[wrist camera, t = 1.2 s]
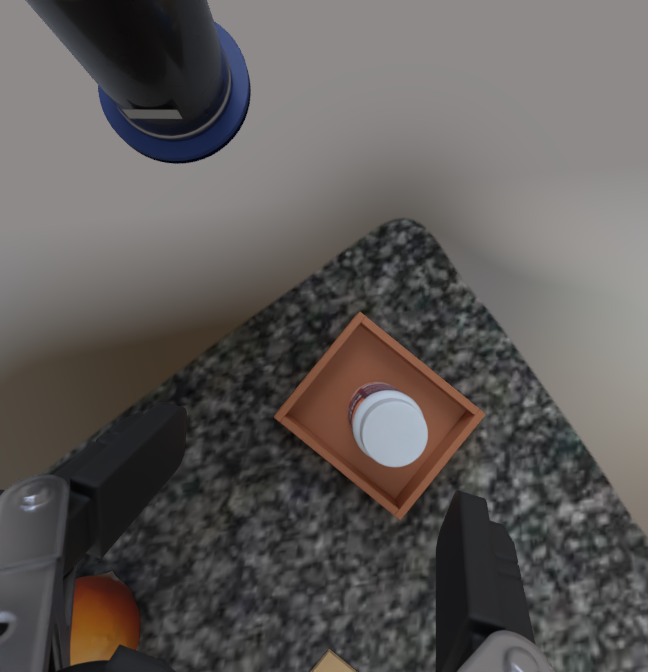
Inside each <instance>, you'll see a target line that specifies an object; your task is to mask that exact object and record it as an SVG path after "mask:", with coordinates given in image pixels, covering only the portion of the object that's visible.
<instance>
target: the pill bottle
mask: <svg viewBox="0 0 648 672" xmlns="http://www.w3.org/2000/svg"><path fill="white" fill-rule="evenodd" d="M347 414H348V420H349V423H350V427H351V430H352V432H353V436H354V439H355V441H356V443H357V445H358V446H359V448H360V449H361V450H362V451H363V452H364V453H365V454H366V455H367V456H369V457H371V458H372V459H374V460H375V461H376V462H378V463H379V464H382V465H384V466H388V467H402V466H406V465H408V464H410V463H412V462H414V461H415V460H416V459H417V458H418V457H419V456H420V455H421V454H422V452H423V451H424V449H425V447H426V444H427V439H428V429H427V425H426V422H425V420H424V417H423V414H422V412H421V410H420V408H419V406H418V405H417V404H416V402H415V401H414V400H413V399H412V398H410V397H409V396H408V395H406V394H404V393H403V392H401V391H399V390H398V389H397V388H395V387H393V386H391V385H389V384H387V383H383V382H372V383H368V384H365V385H363V386H361V387H360V388H359V389H357V390H356V391H355V392H354V394H353V395H352V396H351V398H350V401H349V403H348V409H347Z"/></svg>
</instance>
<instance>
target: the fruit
mask: <svg viewBox="0 0 648 672" xmlns="http://www.w3.org/2000/svg"><path fill="white" fill-rule="evenodd" d="M139 638H140V614H139V610H138V607H137V604H136V602H135V599H134V596H133V594H132V591H131V589H130V588H129V587H128V586H127V585H126V584H125V583H123V582H122V581H121V580H120V579H118V578H117V577H116V576H115V574H114V572H113V569H112V570H111V571H110V572H108V573H104V574H99V575H93V576H84V577H80V578H77V579H76V581H75V593H74V605H73V617H72V629H71V644H70V661H71V666H72V665H75V664H79V663H84V662H89V661H99V660H110V658H111V657H112V655H113V654H114V652H115V651H116V649H117V648H118V646H119V644H121V645H123V646H126V647H128V648H131V649H133V650H136V649H137V646H138V643H139Z"/></svg>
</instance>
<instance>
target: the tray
mask: <svg viewBox="0 0 648 672" xmlns="http://www.w3.org/2000/svg"><path fill="white" fill-rule="evenodd" d="M372 382H383V383H387V384H389V385H391V386H393V387H395V388H397V389H398V390H399V391H401V392H403V393H404V394H406V395H408V396H409V397H410V398H412V399H413V400H414V401H415V402H416V404H417V405H418V406H419V408H420V410H421V412H422V414H423V417H424V420H425V422H426V425H427V429H428V439H427V444H426V447H425V449H424V451H423V452H422V454H421V455H420V456H419V457H418V458H417V459H416V460H415V461H414V462H412V463H410V464H408V465H406V466H402V467H388V466H384V465H382V464H379V463H378V462H376V461H375V460H374V459H372V458H371V457H369V456H367V455H366V454H365V453H364V452H363V451H362V450H361V449H360V448H359V446H358V445H357V443H356V441H355V439H354V436H353V432H352V430H351V427H350V423H349V420H348V414H347V409H348V403H349V401H350V398H351V396H352V395H353V394H354V392H355V391H356V390H357V389H359V388H360V387H361V386H363V385H365V384H368V383H372ZM485 415H486V414H485V413H484V412H483V411H481V410H480V409H479V408H478V407H476V406H475V405H474V404H473V403H472V402H470V401H469V400H468V399H467V398H465V397H464V396H463V395H462V394H460V393H459V392H458V391H457V390H456V389H454V388H453V387H452V386H451V385H449V384H448V383H447V382H446V381H445V380H443V379H442V378H441V377H440V376H438V375H437V374H436V373H435V372H433V371H432V370H431V369H430V368H429V367H427V366H426V365H425V364H424V363H422V362H421V361H420V360H419V359H418V358H416V357H415V356H414V355H413V354H411V353H410V352H409V351H408V350H407V349H405V348H404V347H403V346H402V345H400V344H399V343H398V342H397V341H395V340H394V339H393V338H392V337H391V336H389V335H388V334H387V333H386V332H384V331H383V330H382V329H381V328H380V327H378V326H377V325H376V324H375V323H373V322H372V321H371V320H370V319H368V318H367V317H366V316H365V315H364V314H362V313H361V312H359V313H357V314H356V315H355V317H354V318H353V319H352V320H351V322H350V323H349V324H348V325H347V326H346V328H345V329H344V330H343V331H342V333H341V334H340V335H339V336H338V337H337V339H336V340H335V341H334V342H333V344H332V345H331V346H330V347H329V349H328V350H327V351H326V352H325V353H324V355H323V356H322V357H321V358H320V360H319V361H318V362H317V363H316V364H315V366H314V367H313V368H312V369H311V371H310V372H309V373H308V374H307V376H306V377H305V378H304V379H303V380H302V382H301V383H300V384H299V385H298V387H297V388H296V389H295V390H294V391H293V393H292V394H291V395H290V396H289V398H288V399H287V400H286V401H285V403H284V404H283V405H282V406H281V407H280V409H279V410H278V411H277V413H276V414H275V416H274V418H275V419H276V420H278V421H279V422H280V423H281V424H283V425H284V426H285V427H286V428H288V429H289V430H290V431H291V432H292V433H294V434H295V435H296V436H297V437H299V438H300V439H301V440H302V441H303V442H305V443H306V444H307V445H308V446H310V447H311V448H312V449H313V450H314V451H316V452H317V453H318V454H319V455H321V456H322V457H323V458H324V459H325V460H327V461H328V462H329V463H330V464H332V465H333V466H334V467H335V468H337V469H338V470H339V471H340V472H341V473H343V474H344V475H345V476H346V477H348V478H349V479H350V480H351V481H352V482H354V483H355V484H356V485H357V486H359V487H360V488H361V489H362V490H363V491H365V492H366V493H367V494H368V495H370V496H371V497H372V498H373V499H375V500H376V501H377V502H378V503H379V504H381V505H382V506H383V507H384V508H386V509H387V510H388V511H389V512H390V513H392V514H393V515H394V516H395V517H397V518H398V519H399V520H401V519H402V518H403V517H404V515H405V514H406V513H407V512H408V510H409V509H410V508H411V507H412V505H413V504H414V503H415V502H416V500H417V499H418V498H419V497H420V495H421V494H422V493H423V492H424V490H425V489H426V488H427V487H428V486H429V484H430V483H431V482H432V481H433V479H434V478H435V477H436V476H437V474H438V473H439V472H440V471H441V469H442V468H443V467H444V466H445V464H446V463H447V462H448V461H449V459H450V458H451V457H452V456H453V454H454V453H455V452H456V451H457V449H458V448H459V447H460V446H461V445H462V443H463V442H464V441H465V440H466V438H467V437H468V436H469V435H470V433H471V432H472V431H473V430H474V428H475V427H476V426H477V425H478V423H479V422H480V421H481V420H482V418H483V417H484V416H485Z"/></svg>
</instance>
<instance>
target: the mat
mask: <svg viewBox="0 0 648 672" xmlns="http://www.w3.org/2000/svg"><path fill="white" fill-rule="evenodd" d="M311 672H357V671H356V670H355V669H353V668H352V667H351V666H350V665H348V664H347V663H346V662H345V661H344V660H342V659H341V658H340V657H339V656H337V655H336V654H335V653H334V652H333V651H331V650H330V649H328V651H327V652H326V653H325V654H324V656H323V657H322V658H321V659H320V661H319V662H318V663H317V664H316V665H315V667H314V668H313V669H312V670H311Z"/></svg>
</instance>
